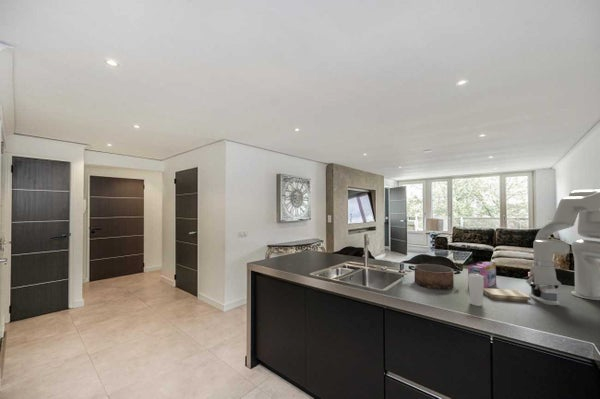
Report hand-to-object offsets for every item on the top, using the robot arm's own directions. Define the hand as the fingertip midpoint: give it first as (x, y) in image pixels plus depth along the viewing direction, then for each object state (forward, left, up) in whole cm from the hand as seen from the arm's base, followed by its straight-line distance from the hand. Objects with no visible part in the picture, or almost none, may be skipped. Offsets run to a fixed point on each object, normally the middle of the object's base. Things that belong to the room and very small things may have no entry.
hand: (543, 296), depth 137 cm
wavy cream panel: (+18, 0, -2) cm, 18 cm away
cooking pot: (+50, -17, -2) cm, 53 cm away
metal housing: (0, 0, -2) cm, 2 cm away
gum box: (+20, -22, -2) cm, 30 cm away
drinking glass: (+38, +14, -2) cm, 41 cm away
